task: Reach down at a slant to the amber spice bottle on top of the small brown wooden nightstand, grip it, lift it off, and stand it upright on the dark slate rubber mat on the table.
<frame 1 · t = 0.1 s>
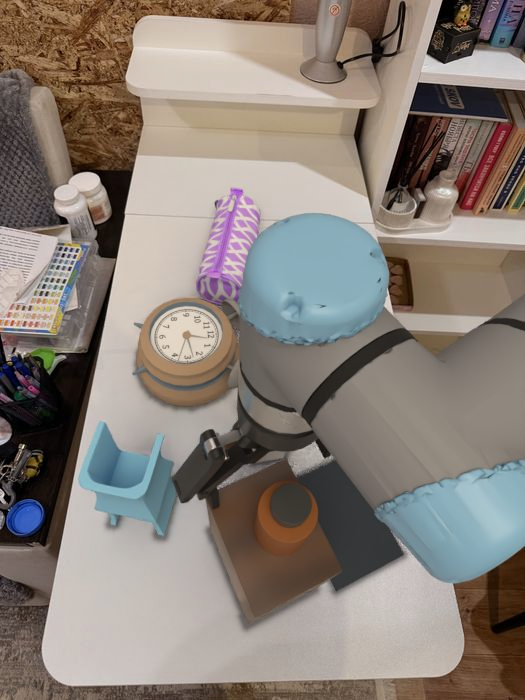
hand: (268, 471, 57), 20 cm above the table, tool pointing down, fingers open, 13 cm apart
alarm clock: (207, 360, 87), on the table
spice bottle: (280, 527, 54), point 20 cm above the table, touching brown wooden nightstand
jar: (264, 437, 80), on the table
mat: (342, 519, 74), on the table
blue doll chair: (146, 502, 74), on the table
pencil case: (230, 263, 97), on the table
brown wooden nightstand: (261, 559, 71), on the table
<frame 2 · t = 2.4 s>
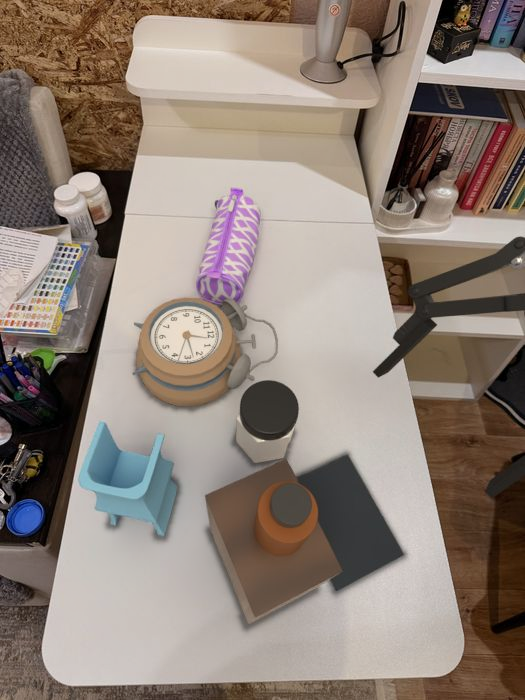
hand: (432, 428, 46), 34 cm above the table, tool tilted 40°, fingers open, 13 cm apart
nothing on the table moved.
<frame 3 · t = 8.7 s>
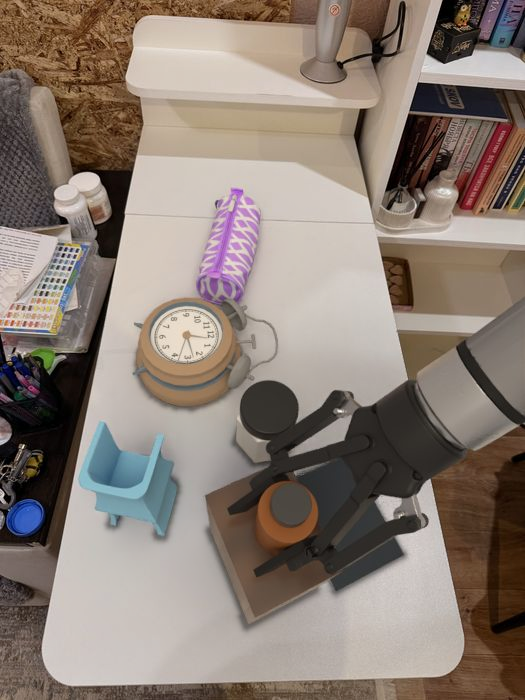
hand: (250, 539, 51), 22 cm above the table, tool tilted 45°, fingers closed on spice bottle, 6 cm apart
spice bottle: (280, 527, 54), point 20 cm above the table, touching gripper, brown wooden nightstand
everything else where it was.
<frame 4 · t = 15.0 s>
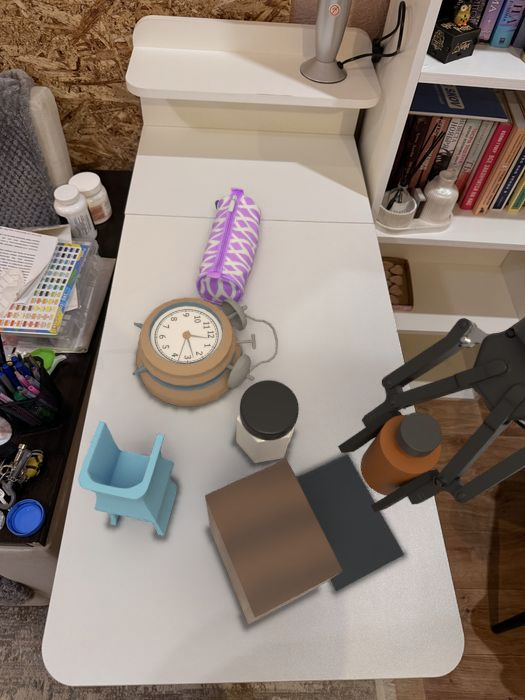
hand: (362, 477, 50), 27 cm above the table, tool tilted 45°, fingers closed on spice bottle, 6 cm apart
spice bottle: (387, 469, 53), point 24 cm above the table, touching gripper
everything else where it was.
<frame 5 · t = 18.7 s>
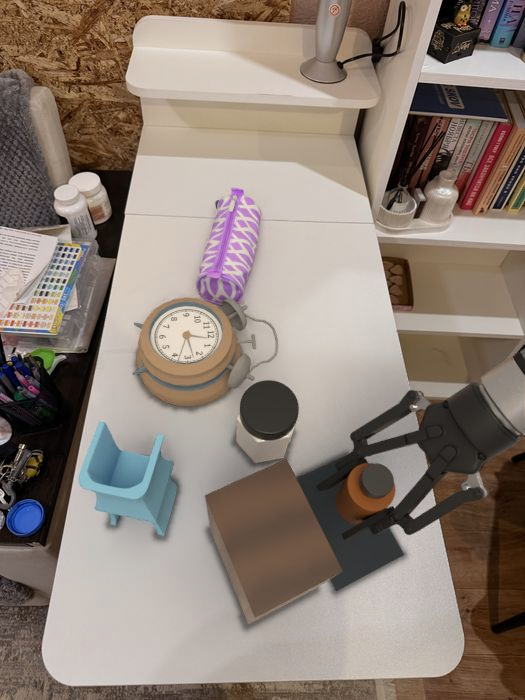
hand: (335, 510, 63), 12 cm above the table, tool tilted 45°, fingers closed on spice bottle, 6 cm apart
spice bottle: (356, 502, 66), point 10 cm above the table, touching gripper
everything else where it was.
when the fingers open (3 cm above the table, at t = 21.5 s): spice bottle stays where it is, resting on mat.
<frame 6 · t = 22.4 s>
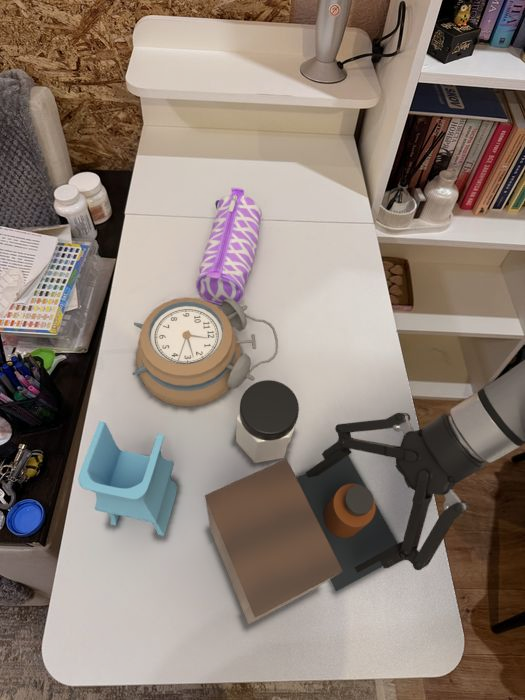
hand: (334, 519, 70), 5 cm above the table, tool tilted 45°, fingers open, 13 cm apart
spice bottle: (342, 517, 74), resting on mat
everything else where it was.
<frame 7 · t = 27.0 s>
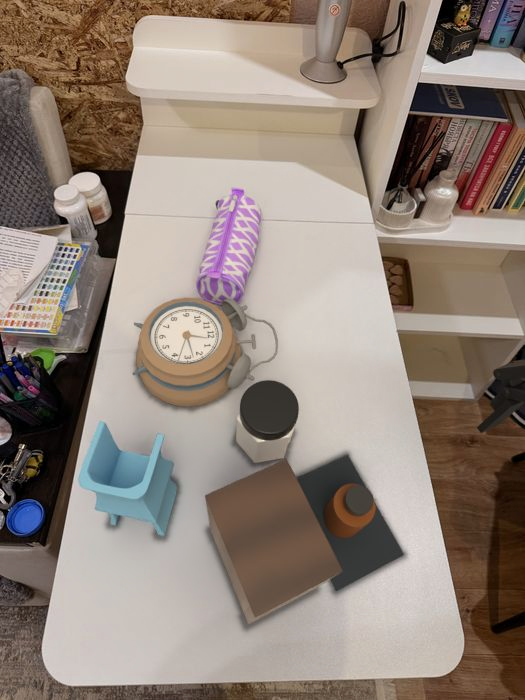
nothing on the table moved.
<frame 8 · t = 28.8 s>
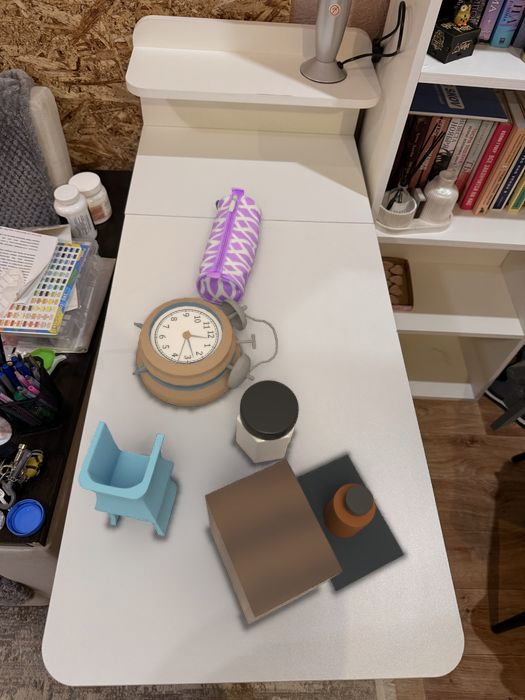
nothing on the table moved.
at the end: spice bottle inside the target area on the mat (0.1 cm from its centre), point 0.5 cm above the mat's base; spice bottle tilted 0°; the gripper is holding nothing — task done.
